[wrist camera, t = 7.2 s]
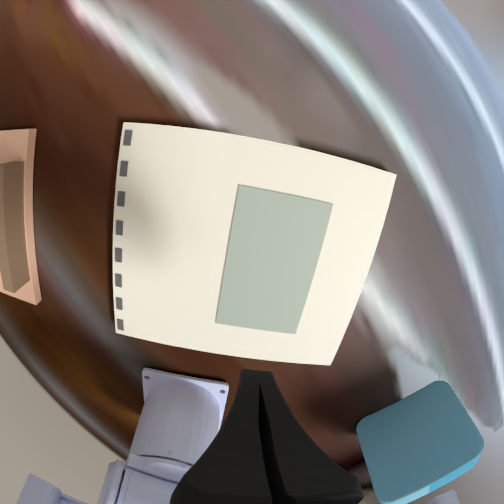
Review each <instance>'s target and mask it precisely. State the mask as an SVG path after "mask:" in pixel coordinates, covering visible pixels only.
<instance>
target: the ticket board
mask: <svg viewBox="0 0 504 504" xmlns="http://www.w3.org/2000/svg"><path fill="white" fill-rule="evenodd" d="M395 179H396V174H393V173H390V172H387V171H384V170H381V169H377V168H374V167H371V166H368V165H364V164H361V163H358V162H354V161H351V160H347V159H344V158H340V157H336V156H333V155H329V154H325V153H321V152H317V151H313V150H309V149H305V148H301V147H296V146H292V145H287V144H283V143H278V142H273V141H268V140H263V139H258V138H253V137H247V136H241V135H235V134H229V133H223V132H216V131H210V130H202V129H195V128H186V127H178V126H168V125H157V124H145V123H130V122H123V129H122V135H121V142H120V150H119V158H118V167H117V177H116V188H115V201H114V219H113V297H114V315H115V328H116V333H119V334H123V335H127V336H131V337H135V338H139V339H144V340H148V341H153V342H157V343H162V344H167V345H172V346H177V347H182V348H188V349H193V350H199V351H205V352H211V353H217V354H224V355H230V356H238V357H245V358H253V359H261V360H270V361H280V362H291V363H303V364H317V365H331V363H332V361H333V359H334V356H335V354H336V352H337V350H338V347H339V345H340V343H341V341H342V338H343V336H344V334H345V331H346V329H347V326H348V324H349V321H350V319H351V317H352V314H353V311H354V309H355V306H356V304H357V301H358V299H359V296H360V293H361V291H362V288H363V285H364V282H365V279H366V277H367V274H368V271H369V268H370V265H371V262H372V259H373V256H374V253H375V250H376V247H377V244H378V241H379V237H380V234H381V231H382V227H383V224H384V221H385V217H386V213H387V210H388V206H389V203H390V199H391V195H392V191H393V187H394V183H395Z"/></svg>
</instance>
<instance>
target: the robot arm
mask: <svg viewBox="0 0 504 504" xmlns="http://www.w3.org/2000/svg"><path fill="white" fill-rule="evenodd" d="M142 382H143V394H144V406H143V409H142V413H141V416H140V419H139V422H138V425H137V429H136V432H135V435H134V439H133V442H132V445H131V449H130V452H129V456H128V458H127V460H126V462H125V465H124V462H123V461H120V460H116V462H112V463H110V464H109V466H108V470H107V473H106V476H105V479H104V483H103V486H102V490H101V493H100V496H99V500H98V503H97V504H358V503H359V502H360V501H361V500H362V499H363V497H364V496H363V492H362V488H361V486H360V483H359V481H358V479H357V478H356V477H355V476H353V475H352V474H350V473H349V472H347V471H346V470H344V469H343V468H342V467H340V466H339V465H338V464H337V463H336V462H334V461H333V460H332V459H331V458H330V457H329V456H328V455H327V454H326V453H324V452H323V451H322V450H321V449H320V448H319V447H318V446H317V445H316V443H315V442H314V441H313V440H312V439H311V438H310V437H309V435H308V434H307V433H306V432H305V430H304V429H303V428H302V426H301V425H300V424H299V422H298V421H297V419H296V418H295V416H294V415H293V413H292V411H291V410H290V408H289V406H288V405H287V403H286V401H285V399H284V397H283V395H282V393H281V391H280V389H279V387H278V385H277V383H276V381H275V378H274V376H273V373H272V372H269V371H258V370H248V369H243V370H241V373H240V378H239V383H238V388H237V393H236V397H235V400H234V402H233V405H232V407H231V409H230V411H229V413H228V416H227V418H226V419H225V421H224V423H223V425H222V427H221V428H220V426H221V421H222V417H223V412H224V408H225V403H226V399H227V394H228V390H229V385H228V383H226V382H221V381H214V380H208V379H201V378H196V377H190V376H184V375H179V374H174V373H169V372H164V371H160V370H155V369H150V368H144V369H143V370H142ZM17 504H87V503H85V502H82V501H79V500H77V499H74V498H72V497H70V496H68V495H65V494H63V493H61V491H60V490H59V489H58V488H57V487H56V486H54V485H52V484H50V483H49V482H46V481H44V480H43V479H41V478H39V477H37V476H35V475H33V474H29V475H28V477H27V479H26V482H25V484H24V487H23V489H22V491H21V494H20V497H19V499H18V502H17ZM427 504H460V502H459V500H458V497H457V495H456V493H455V491H454V490H450V491H448V492H446V493H443V494H441V495H439V496H437V497H435V498H433V499H432V500H430V501H429V502H428V503H427Z"/></svg>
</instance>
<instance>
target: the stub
mask: <svg viewBox="0 0 504 504" xmlns="http://www.w3.org/2000/svg"><path fill="white" fill-rule="evenodd" d="M36 131H37V129H18V130H4V131H0V292H2V293H5V294H7V295H10V296H13V297H15V298H18V299H21V300H23V301H26V302H29V303H32V304H34V305H37V304H38V303H39V302H40V301H41V300H42V298H41V292H40V286H39V279H38V272H37V264H36V254H35V243H34V228H33V166H34V151H35V140H36Z"/></svg>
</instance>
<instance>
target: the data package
mask: <svg viewBox="0 0 504 504" xmlns="http://www.w3.org/2000/svg"><path fill="white" fill-rule="evenodd" d="M356 433H357V436H358V439H359V442H360V445H361V448H362V452H363V455H364V458H365V461H366V465H367V468H368V471H369V474H370V478H371V481H372V484H373V488H374V491H375V494H376V497H377V499H378V500H379V502H380V503H381V504H407V503H409V502H411V501H413V500H415V499H417V498H419V497H421V496H424V495H426V494H428V493H430V492H431V491H434V490H435V489H437V488H439V487H441V486H443V485H445V484H446V483H448V482H450V481H452V480H453V479H455V478H457V477H458V476H460V475H462V474H463V473H465V472H466V471H468V470H470V469H471V468H472V467H473V466H474V465H475V464H476V462H477V460H478V458H479V456H480V454H481V452H482V450H483V447H484V440H483V438H482V436H481V435H480V433H479V431H478V429H477V428H476V426H475V424H474V423H473V421H472V419H471V418H470V416H469V415H468V413H467V411H466V410H465V408H464V407H463V405H462V404H461V402H460V400H459V399H458V397H457V396H456V394H455V393H454V391H453V390H452V388H451V387H450V385H449V384H448V383H447V382H445V381H435V382H433V383H431V384H429V385H428V386H426V387H424V388H422V389H421V390H419V391H417V392H415V393H413V394H411V395H409V396H408V397H406V398H404V399H402V400H400V401H398V402H396V403H394V404H392V405H390V406H388V407H386V408H384V409H381V410H379V411H377V412H375V413H373V414H371V415H368V416H366V417H364V418H363V419H361V420H360V422H359V423H358V425H357V427H356Z"/></svg>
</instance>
